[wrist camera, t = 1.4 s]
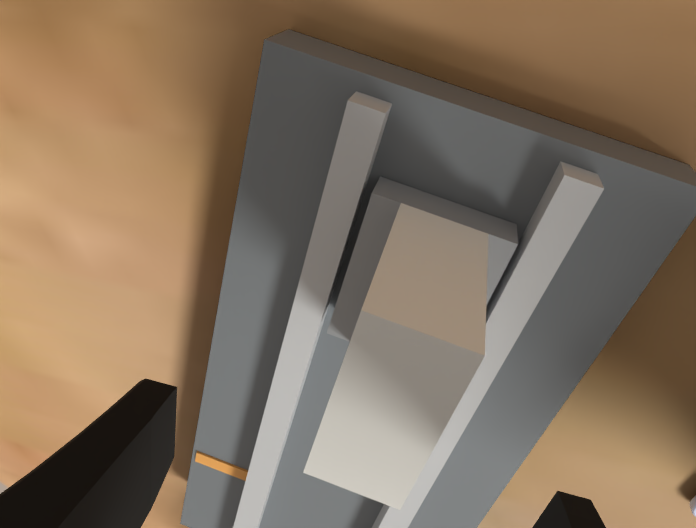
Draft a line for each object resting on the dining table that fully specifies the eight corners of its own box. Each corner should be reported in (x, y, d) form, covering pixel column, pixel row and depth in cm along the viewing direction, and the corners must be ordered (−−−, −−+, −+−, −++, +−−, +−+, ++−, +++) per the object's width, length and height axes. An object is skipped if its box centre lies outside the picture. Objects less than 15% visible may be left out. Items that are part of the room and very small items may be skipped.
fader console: (689, 164, 15) (726, 208, 13) (419, 575, 28) (411, 638, 25) (288, 29, 16) (250, 45, 14) (198, 489, 28) (170, 542, 26)
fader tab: (516, 224, 15) (527, 370, 10) (451, 353, 18) (433, 522, 13) (380, 176, 15) (320, 295, 10) (335, 311, 18) (271, 460, 13)
